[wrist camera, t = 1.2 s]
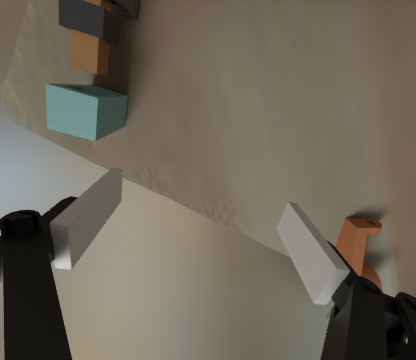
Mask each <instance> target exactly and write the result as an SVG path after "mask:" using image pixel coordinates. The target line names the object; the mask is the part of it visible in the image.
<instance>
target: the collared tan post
mask: <svg viewBox="0 0 416 360" xmlns="http://www.w3.org/2000/svg"><path fill="white" fill-rule="evenodd" d="M112 5H113V0H59V25H61V26H63V27H65V28H68V29H70V30H71V43H70V66H72V67H75V68H78V69H82V70H85V71H88V72H92V73H95V74H100V75H107V73H108V59H109V46H110V44H112V45H115V46H118V41H119V29H120V20H119V19H117V18H116V17H115V16H114V15H113V14H112Z"/></svg>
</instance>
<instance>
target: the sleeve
mask: <svg viewBox="0 0 416 360" xmlns="http://www.w3.org/2000/svg"><path fill="white" fill-rule="evenodd" d="M139 6H140V0H113V5H112V12H115V13H118V14H121V15H124V16H127V17H130V18H133V19H136V20H138V15H139Z"/></svg>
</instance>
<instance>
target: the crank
mask: <svg viewBox="0 0 416 360" xmlns="http://www.w3.org/2000/svg"><path fill="white" fill-rule="evenodd" d="M381 228H382V224H381V223H380V222H378V221H376V220H374V219H371V218H346V219H345V221H344V224H343V227H342V230H341V233H340V235H339V238H338V241H337V244H336V249H337V250H338V251H339V252H340V254H341V255H342V256H343V257H344V259H345V260H346V261H347V262H348V263H349V265H350V266H351V267H352V268H353V269H354V271H355V272H356V273H357V274H358V276H362V277H365V278H367V279H369V280H370V281H372V282H373V283H375V284H376V285H377V286H378V287H379V288H380V289H381V291H382V286H381V282H380V279H379V277H378V275H377V273H376V272H375V271H374V269H373V268H371V267H370V266H369V265H367V264H363V260H364V254H365V247H366V241H367V235H378V234H379V232H380V230H381Z"/></svg>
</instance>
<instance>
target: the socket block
mask: <svg viewBox="0 0 416 360" xmlns="http://www.w3.org/2000/svg"><path fill="white" fill-rule="evenodd" d="M127 99H128V95H124V94H121V93H117V92H114V91H111V90H107V89H104V88H100V87H97V86H93V85H76V84H47V83H46V104H47V129H50V130H54V131H58V132H62V133H66V134H70V135H74V136H78V137H82V138H86V139H90V140H94V141H96V140H98V139H100V138H102V137H105V136H107V135H109V134H111V133H113V132H115V131H117V130H119V129H121V128H123V127H124V125H125V116H126V107H127Z"/></svg>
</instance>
